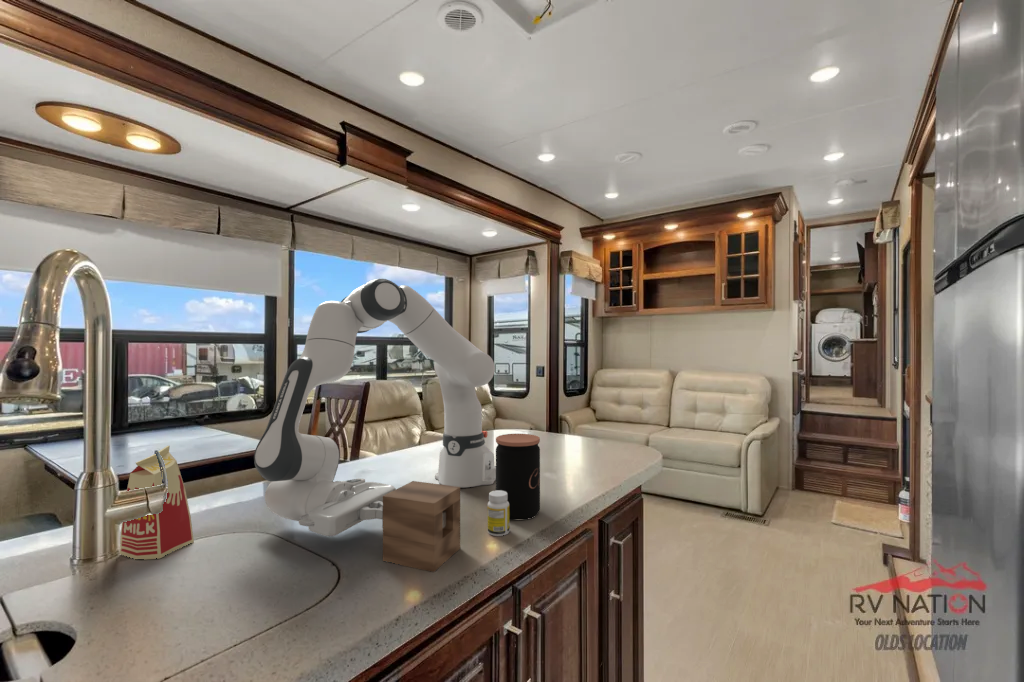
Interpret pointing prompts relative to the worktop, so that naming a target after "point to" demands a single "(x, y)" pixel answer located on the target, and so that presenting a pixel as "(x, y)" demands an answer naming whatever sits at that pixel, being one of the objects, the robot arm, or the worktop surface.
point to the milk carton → (167, 527)
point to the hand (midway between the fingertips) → (387, 512)
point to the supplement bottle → (498, 513)
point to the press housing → (421, 525)
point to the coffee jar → (519, 473)
